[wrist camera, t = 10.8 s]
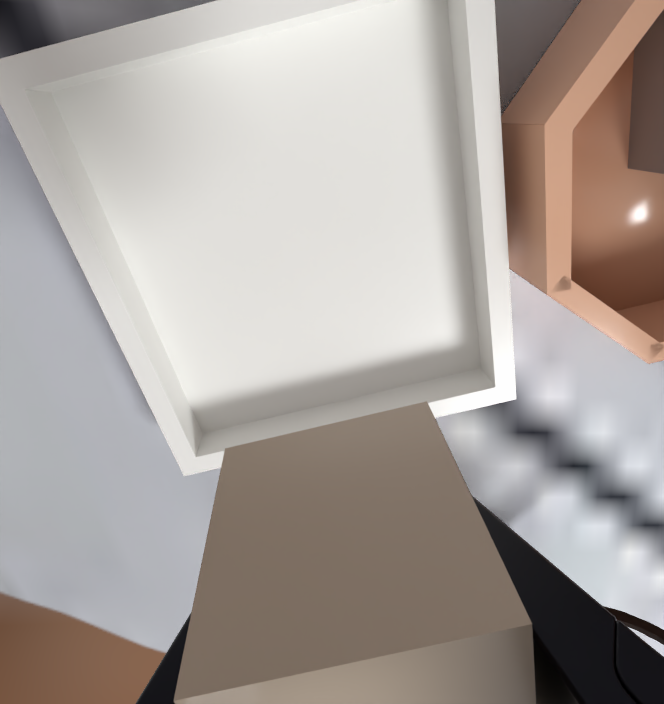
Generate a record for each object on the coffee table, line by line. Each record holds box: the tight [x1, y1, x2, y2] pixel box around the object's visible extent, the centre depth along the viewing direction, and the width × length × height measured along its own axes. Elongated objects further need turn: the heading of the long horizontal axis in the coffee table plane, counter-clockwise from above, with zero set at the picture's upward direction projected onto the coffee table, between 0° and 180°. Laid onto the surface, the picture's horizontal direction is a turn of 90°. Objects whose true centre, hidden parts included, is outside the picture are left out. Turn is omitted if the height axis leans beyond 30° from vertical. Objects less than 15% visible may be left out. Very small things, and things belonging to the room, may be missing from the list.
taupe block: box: [174, 401, 536, 704], centre depth 8 cm, size 4×5×4 cm
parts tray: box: [0, 0, 516, 476], centre depth 17 cm, size 14×15×2 cm
